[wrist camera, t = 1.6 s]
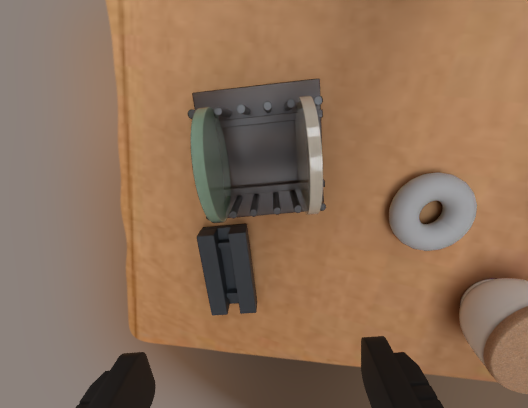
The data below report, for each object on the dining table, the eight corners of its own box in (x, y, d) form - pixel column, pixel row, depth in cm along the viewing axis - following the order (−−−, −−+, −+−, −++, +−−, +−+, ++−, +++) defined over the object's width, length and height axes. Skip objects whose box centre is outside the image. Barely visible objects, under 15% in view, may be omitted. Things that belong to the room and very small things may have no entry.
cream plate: (293, 101, 29) (306, 89, 18) (302, 100, 29) (320, 88, 18) (298, 196, 32) (312, 233, 21) (307, 196, 32) (325, 233, 21)
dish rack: (195, 94, 30) (172, 85, 23) (317, 80, 29) (332, 67, 22) (215, 215, 35) (201, 240, 27) (321, 206, 34) (335, 229, 27)
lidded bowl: (454, 258, 36) (531, 316, 25) (546, 264, 36) (662, 325, 25) (431, 332, 39) (489, 409, 29) (514, 337, 39) (602, 416, 29)
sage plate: (212, 110, 29) (180, 104, 19) (221, 109, 29) (193, 102, 19) (226, 203, 32) (205, 242, 22) (234, 202, 32) (217, 241, 22)
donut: (406, 159, 32) (370, 230, 35) (422, 162, 29) (381, 241, 31) (478, 185, 33) (438, 253, 35) (502, 191, 29) (455, 266, 32)
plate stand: (202, 227, 35) (196, 236, 32) (247, 223, 35) (245, 232, 32) (216, 301, 39) (211, 315, 36) (257, 298, 38) (256, 312, 36)
